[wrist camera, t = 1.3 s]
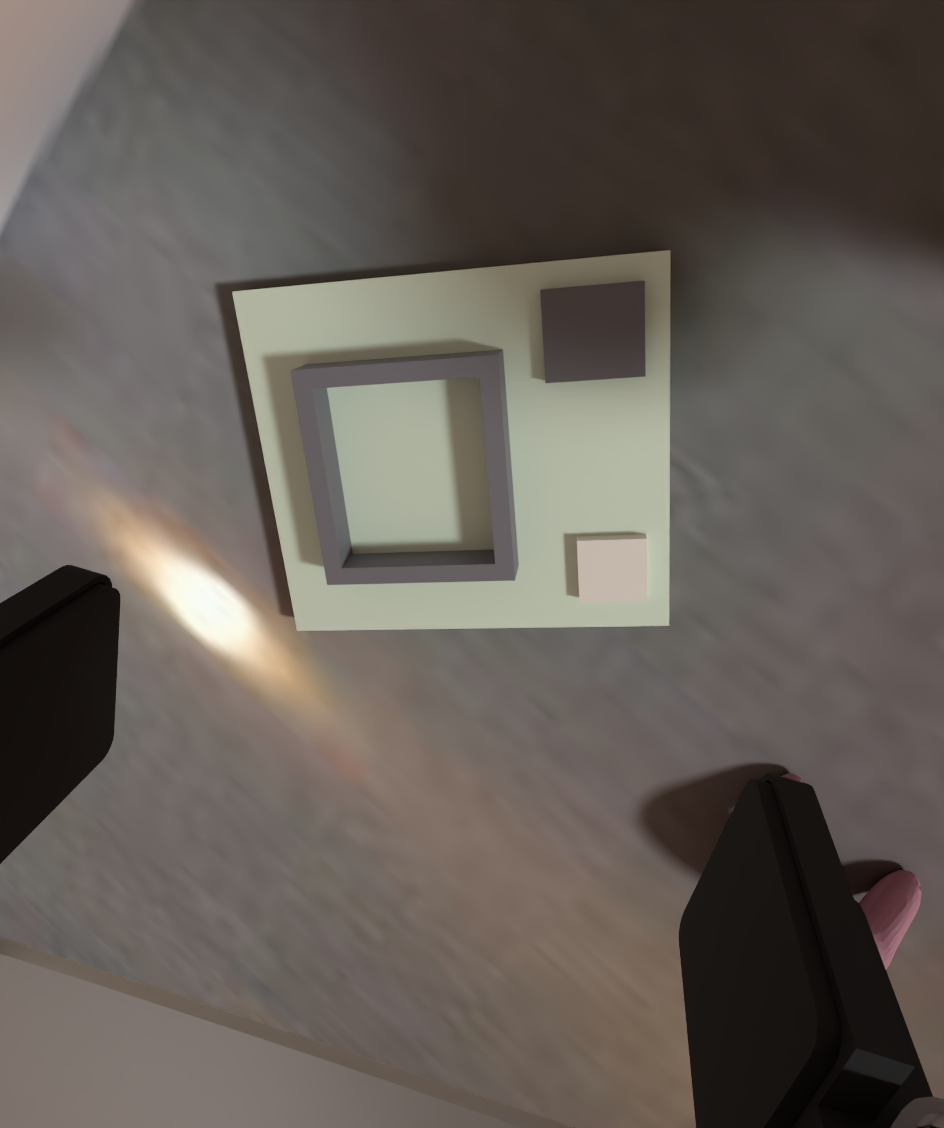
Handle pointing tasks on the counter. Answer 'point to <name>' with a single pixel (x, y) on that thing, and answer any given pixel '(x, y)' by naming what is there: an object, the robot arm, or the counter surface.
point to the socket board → (469, 444)
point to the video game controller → (889, 907)
